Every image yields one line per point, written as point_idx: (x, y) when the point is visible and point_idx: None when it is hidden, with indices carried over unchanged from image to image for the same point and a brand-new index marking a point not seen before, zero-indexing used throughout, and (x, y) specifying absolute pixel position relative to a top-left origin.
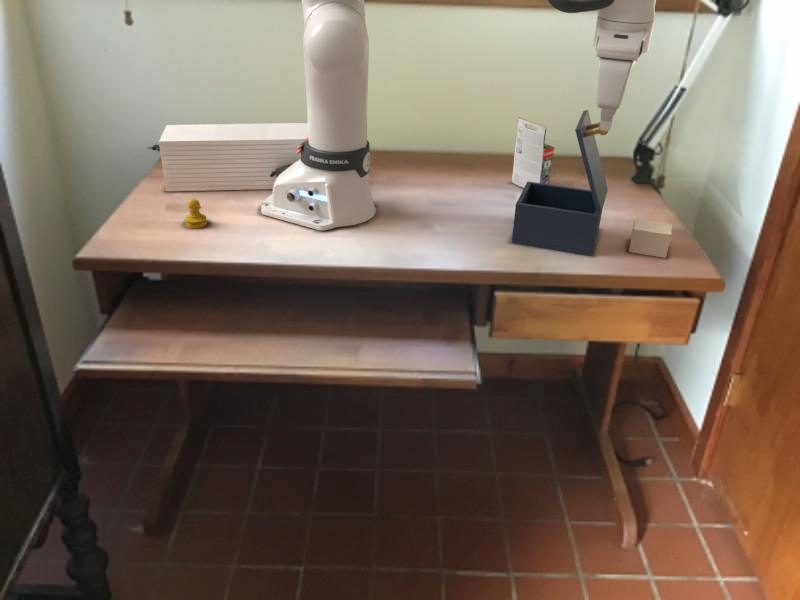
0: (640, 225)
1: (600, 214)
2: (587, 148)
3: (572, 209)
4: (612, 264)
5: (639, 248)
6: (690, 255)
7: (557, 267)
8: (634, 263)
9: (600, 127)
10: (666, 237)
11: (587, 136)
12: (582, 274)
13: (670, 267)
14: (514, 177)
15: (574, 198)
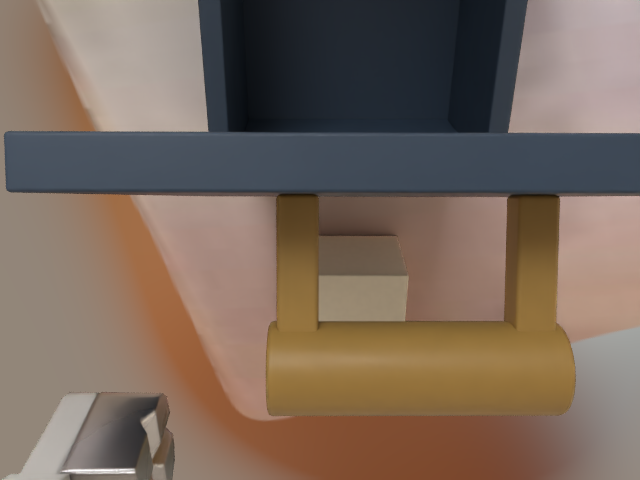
0: (352, 295)
1: None
2: (218, 194)
3: (473, 28)
4: (205, 196)
5: None
6: None
7: (94, 22)
8: (242, 254)
9: (65, 407)
10: None
11: (360, 194)
12: (88, 113)
13: (258, 341)
14: None
15: (486, 37)
